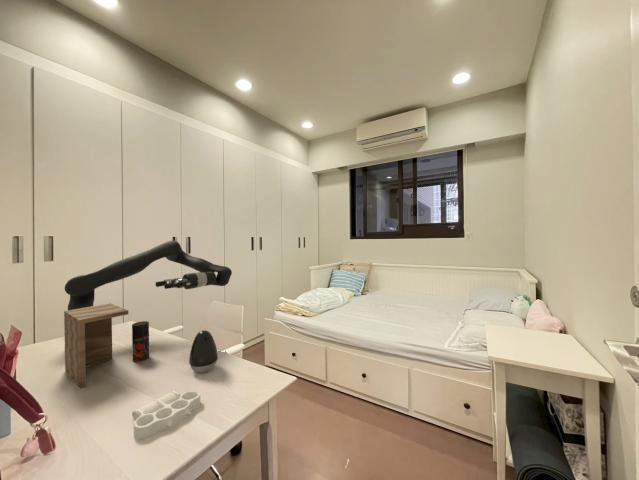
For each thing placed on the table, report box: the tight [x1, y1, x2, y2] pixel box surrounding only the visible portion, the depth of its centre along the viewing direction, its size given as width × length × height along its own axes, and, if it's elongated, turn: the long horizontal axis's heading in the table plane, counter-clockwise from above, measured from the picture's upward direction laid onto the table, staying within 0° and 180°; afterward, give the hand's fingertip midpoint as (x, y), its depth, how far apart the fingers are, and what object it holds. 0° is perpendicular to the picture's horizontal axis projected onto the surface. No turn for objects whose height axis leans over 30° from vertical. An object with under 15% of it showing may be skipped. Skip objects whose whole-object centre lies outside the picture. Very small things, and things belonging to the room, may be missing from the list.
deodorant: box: [131, 320, 150, 363], centre depth 113 cm, size 6×6×15 cm
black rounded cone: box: [188, 329, 219, 374], centre depth 103 cm, size 10×10×15 cm
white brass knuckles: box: [131, 390, 201, 440], centre depth 77 cm, size 3×18×15 cm
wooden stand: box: [63, 302, 129, 389], centre depth 103 cm, size 20×14×24 cm
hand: (160, 285), depth 120 cm, fingers open, 8 cm apart
